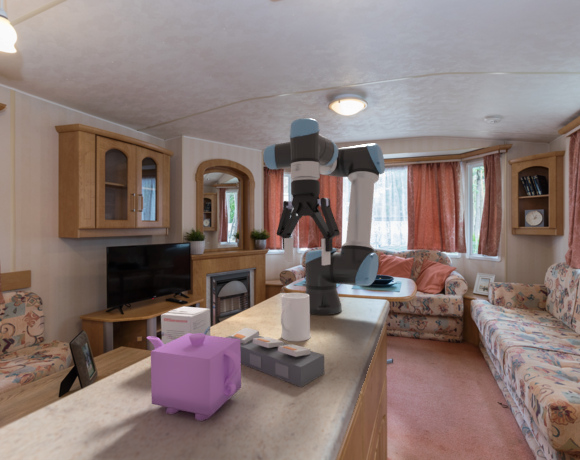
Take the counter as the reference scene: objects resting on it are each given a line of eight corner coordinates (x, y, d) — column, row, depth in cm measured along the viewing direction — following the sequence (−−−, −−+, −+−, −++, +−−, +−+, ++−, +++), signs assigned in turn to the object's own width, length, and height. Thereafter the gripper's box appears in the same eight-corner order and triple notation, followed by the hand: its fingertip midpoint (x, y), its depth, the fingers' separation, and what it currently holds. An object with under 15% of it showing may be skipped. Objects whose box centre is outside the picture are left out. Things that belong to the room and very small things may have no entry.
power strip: (230, 341, 92) (230, 327, 92) (324, 373, 71) (324, 354, 71) (206, 350, 86) (205, 334, 86) (300, 387, 65) (300, 367, 65)
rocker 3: (292, 348, 75) (293, 343, 75) (310, 354, 72) (310, 348, 72) (277, 351, 71) (278, 345, 71) (295, 356, 68) (296, 350, 68)
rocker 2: (267, 341, 80) (268, 336, 80) (282, 345, 77) (283, 340, 77) (252, 342, 76) (253, 337, 77) (268, 347, 73) (268, 342, 73)
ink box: (212, 353, 84) (211, 307, 84) (191, 367, 76) (190, 316, 76) (183, 350, 86) (182, 305, 86) (160, 362, 78) (160, 313, 78)
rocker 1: (246, 330, 86) (245, 326, 85) (259, 334, 82) (258, 330, 82) (231, 339, 82) (230, 335, 82) (244, 343, 79) (243, 339, 78)
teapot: (253, 398, 62) (252, 330, 61) (224, 429, 52) (222, 350, 52) (166, 381, 68) (165, 321, 68) (126, 407, 59) (125, 337, 59)
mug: (292, 347, 87) (292, 302, 87) (267, 341, 92) (267, 298, 92) (316, 335, 96) (315, 294, 96) (292, 330, 102) (292, 291, 101)
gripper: (262, 183, 91) (264, 261, 92) (336, 173, 76) (337, 268, 76) (281, 185, 97) (282, 259, 97) (353, 176, 81) (354, 264, 81)
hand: (306, 263), depth 87 cm, fingers open, 12 cm apart
